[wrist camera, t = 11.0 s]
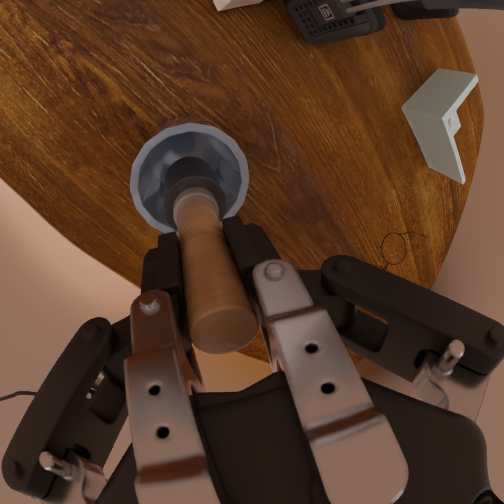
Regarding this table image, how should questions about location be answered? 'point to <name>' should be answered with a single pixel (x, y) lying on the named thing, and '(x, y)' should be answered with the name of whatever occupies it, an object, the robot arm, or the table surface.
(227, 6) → the white notched block
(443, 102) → the l-shaped corner panel
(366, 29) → the headphones
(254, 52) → the table surface
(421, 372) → the robot arm
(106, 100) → the table surface
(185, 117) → the grey cup
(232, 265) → the cylinder with wooden handle
